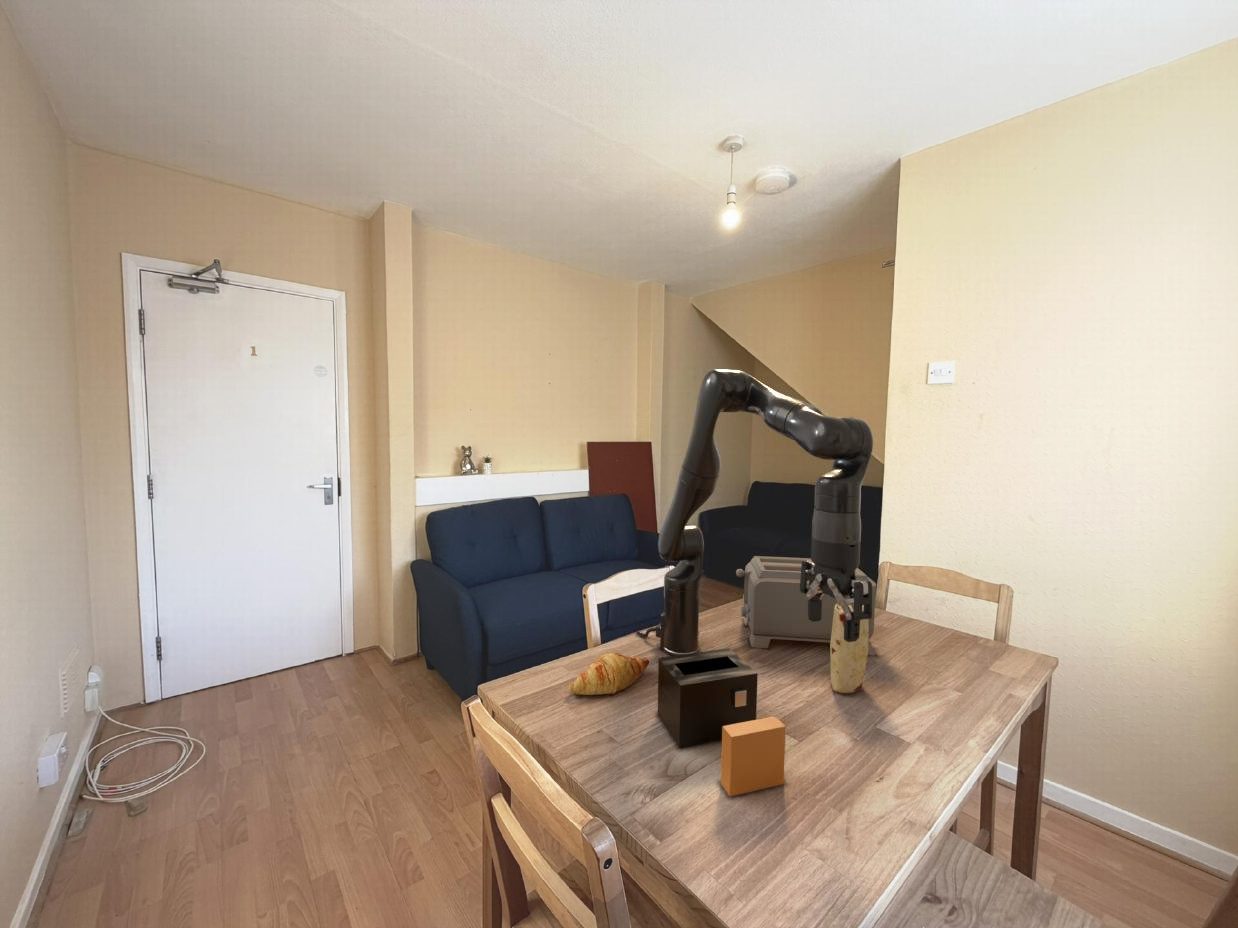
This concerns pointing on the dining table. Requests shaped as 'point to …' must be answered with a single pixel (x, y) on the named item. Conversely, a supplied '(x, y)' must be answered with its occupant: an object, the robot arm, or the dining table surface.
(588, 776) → the dining table surface
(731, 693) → the slot toaster
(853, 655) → the food model
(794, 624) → the toaster
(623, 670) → the croissant
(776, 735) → the orange slab
